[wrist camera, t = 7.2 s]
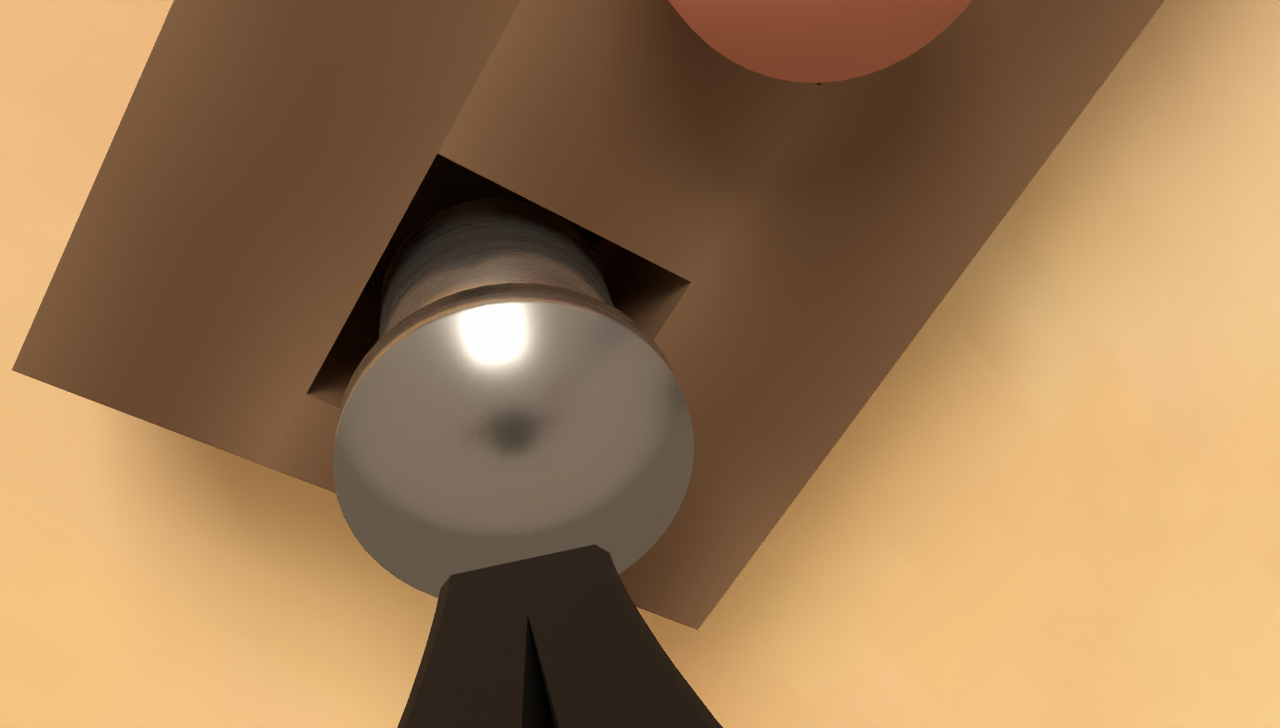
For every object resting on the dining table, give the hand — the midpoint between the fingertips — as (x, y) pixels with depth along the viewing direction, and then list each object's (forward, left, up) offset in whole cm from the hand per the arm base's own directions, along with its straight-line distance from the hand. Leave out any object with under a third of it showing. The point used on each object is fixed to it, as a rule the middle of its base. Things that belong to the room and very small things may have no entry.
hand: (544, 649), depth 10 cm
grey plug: (0, 0, -7) cm, 7 cm away
